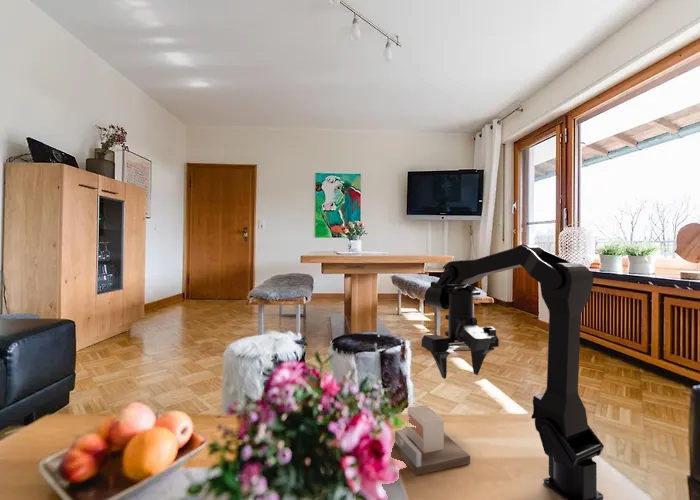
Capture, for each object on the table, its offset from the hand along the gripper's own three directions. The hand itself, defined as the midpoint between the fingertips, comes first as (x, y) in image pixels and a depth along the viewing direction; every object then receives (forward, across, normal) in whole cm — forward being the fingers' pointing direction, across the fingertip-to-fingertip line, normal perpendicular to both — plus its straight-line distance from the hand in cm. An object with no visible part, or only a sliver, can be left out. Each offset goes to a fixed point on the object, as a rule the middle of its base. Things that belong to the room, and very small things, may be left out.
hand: (460, 376), depth 83 cm
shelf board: (+12, -14, -7) cm, 19 cm away
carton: (+10, -14, -7) cm, 19 cm away
